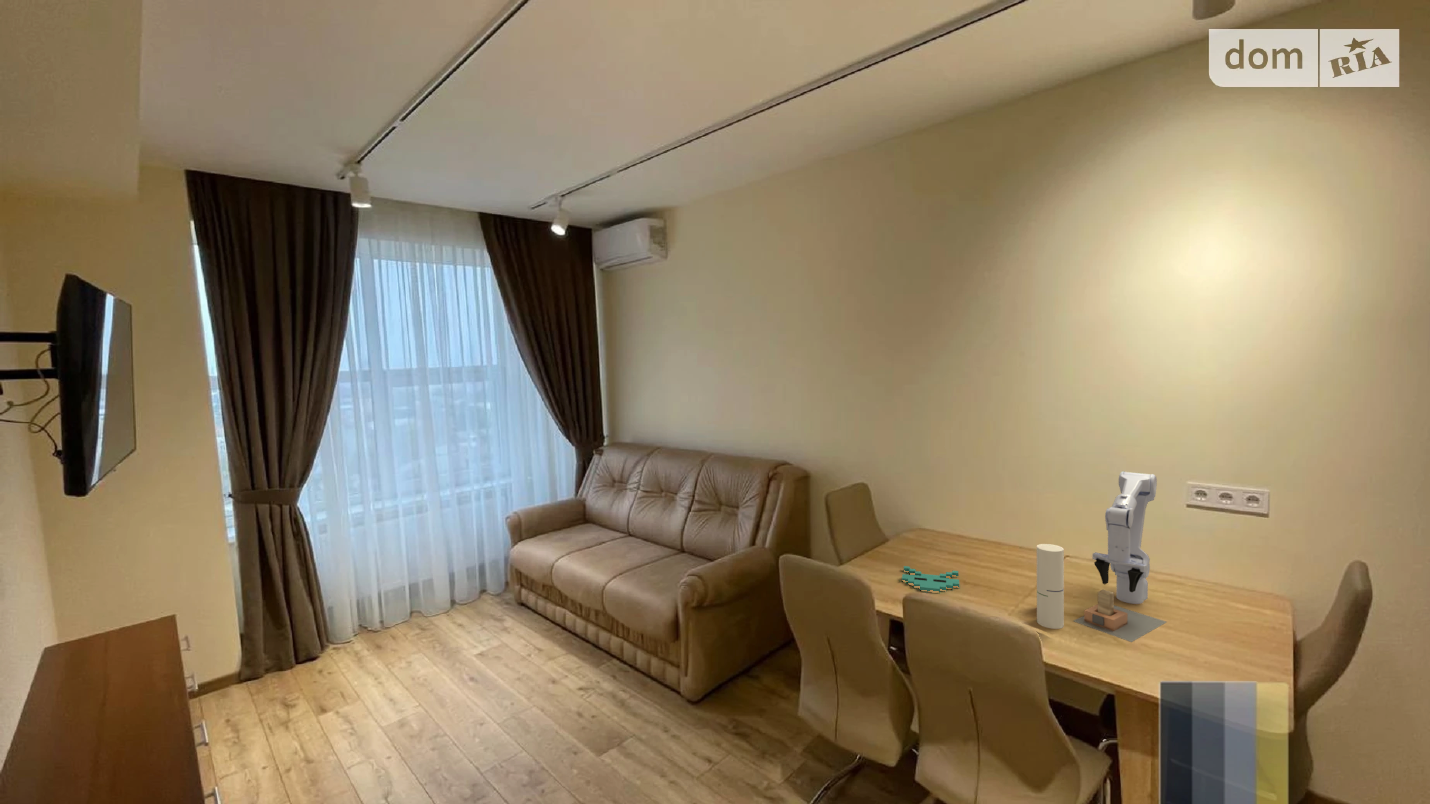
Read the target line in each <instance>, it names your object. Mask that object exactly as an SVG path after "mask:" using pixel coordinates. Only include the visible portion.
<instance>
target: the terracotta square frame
mask: <svg viewBox="0 0 1430 804" xmlns="http://www.w3.org/2000/svg"><path fill="white" fill-rule="evenodd" d="M1083 613H1084V615H1083V616H1084V621H1086V622H1089V623H1092V624H1095V625H1097V626H1100V627H1103V628H1106V629H1109V630H1112V631H1115V630H1117V629H1119V628H1121V627H1123V626H1125V625H1126V624H1127V617H1128V613H1125V612H1122V611H1119V610H1117V609H1114V615H1112V616H1108V615H1105V614H1102V613H1098V603H1097V604H1094V605H1093V606H1090V607H1088V608H1087V609H1084V611H1083Z"/></svg>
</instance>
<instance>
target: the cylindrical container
mask: <svg viewBox="0 0 1430 804" xmlns="http://www.w3.org/2000/svg"><path fill="white" fill-rule="evenodd" d="M1064 550H1065V549H1064V548H1063V547H1062V546H1061V545H1057V544H1050V543H1040V544H1039V543H1038V544H1037V545H1036V622H1037V623H1038V625H1040V626H1042V627H1043V628H1047V629H1051V630H1058V629H1063V628H1064V627H1065V624H1064V623H1065V622H1064V621H1065V618H1064V617H1065V612H1064V611H1065V605H1064V604H1065V596H1064V595H1065V592H1064V591H1065V589H1064V588H1065V577H1064V574H1065V562H1064V561H1065V557H1064V555H1065V554H1064Z"/></svg>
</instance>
